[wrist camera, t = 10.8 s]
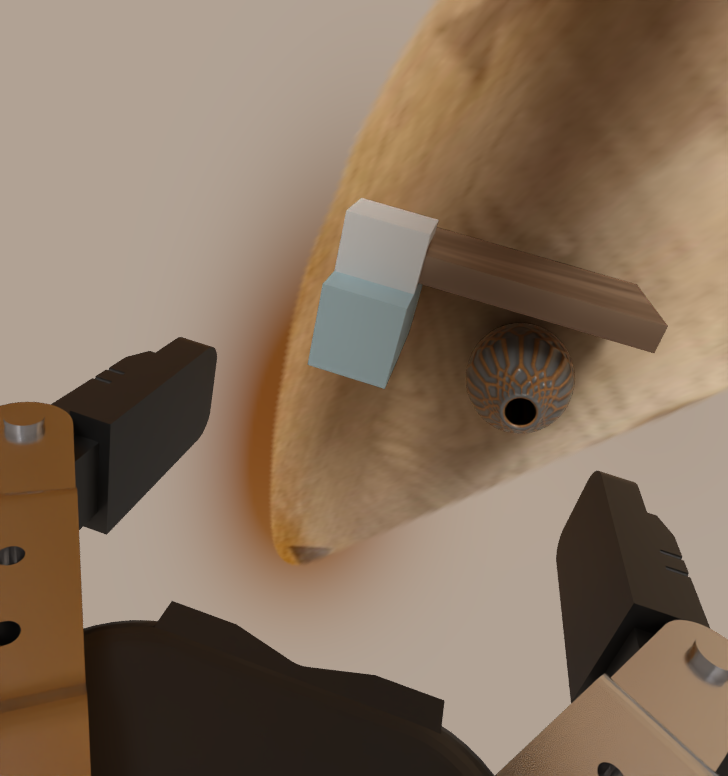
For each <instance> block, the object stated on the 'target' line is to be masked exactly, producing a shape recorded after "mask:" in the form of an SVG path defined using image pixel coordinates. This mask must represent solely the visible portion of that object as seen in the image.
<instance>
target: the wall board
mask: <svg viewBox="0 0 728 776" xmlns="http://www.w3.org/2000/svg"><path fill="white" fill-rule="evenodd" d="M418 283H419V284H422V285H425V286H429V287H432V288H435V289H439V290H442V291H446V292H449V293H452V294H456V295H459V296H462V297H466V298H469V299H473V300H476V301H479V302H483V303H486V304H489V305H493V306H496V307H500V308H503V309H506V310H510V311H513V312H516V313H520V314H523V315H527V316H530V317H533V318H537V319H540V320H543V321H547V322H550V323H554V324H557V325H560V326H564V327H567V328H570V329H574V330H577V331H581V332H584V333H587V334H591V335H594V336H597V337H601V338H604V339H608V340H611V341H614V342H618V343H621V344H624V345H628V346H631V347H635V348H638V349H641V350H645V351H648V352H651V353H655V351H656V349H657V347H658V345H659V343H660V341H661V339H662V337H663V335H664V333H665V331H666V329H667V327H668V326H667V324H666V323H665V322H664V320H663V319H662V317H661V316H660V315H659V313H658V312H657V311H656V309H655V308H654V307H653V305H652V304H651V303H650V301H649V300H648V299H647V297H646V296H645V295H644V293H643V292H642V291H641V289H640V288H639V287H638V285H637V284H633V283H630V282H626V281H623V280H619V279H616V278H612V277H609V276H605V275H602V274H598V273H595V272H591V271H588V270H584V269H581V268H577V267H574V266H570V265H567V264H563V263H560V262H556V261H553V260H549V259H546V258H542V257H539V256H535V255H532V254H528V253H525V252H521V251H518V250H514V249H511V248H507V247H504V246H500V245H497V244H493V243H490V242H486V241H483V240H479V239H476V238H472V237H469V236H465V235H462V234H458V233H455V232H451V231H448V230H444V229H441V228H437V227H436V231H435V234H434V236H433V238H432V240H431V242H430V244H429V246H428V249H427V253H426V256H425V260H424V263H423V267H422V271H421V274H420V278H419V281H418Z"/></svg>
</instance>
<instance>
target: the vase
mask: <svg viewBox="0 0 728 776" xmlns="http://www.w3.org/2000/svg"><path fill="white" fill-rule="evenodd" d="M574 383H575V374H574V368H573V363H572V360H571V358H570V355H569V353H568V351H567V349H566V348H565V346H564V345H563V343H562V342H561V341H560V340H559V339H558V338H557V337H556V336H554V335H553V334H552V333H551V332H549V331H547V330H546V329H544V328H541V327H539V326H536V325H532V324H526V323H515V324H509V325H505V326H502V327H499V328H497V329H495V330H493V331H492V332H490V333H489V334H487V335H486V336H485V337H484V338H483V339H482V340H481V341H480V342H479V343H478V344H477V346H476V347H475V349H474V350H473V352H472V354H471V357H470V359H469V362H468V366H467V371H466V386H467V391H468V395H469V398H470V400H471V402H472V404H473V406H474V408H475V409H476V411H477V412H478V413H479V415H480V416H481V417H482V418H483V419H484V420H485V421H486V422H488V423H489V424H491V425H492V426H494V427H496V428H498V429H500V430H503V431H506V432H510V433H531V432H535V431H538V430H541V429H543V428H545V427H547V426H548V425H550V424H551V423H553V422H554V421H555V420H556V419H558V418H559V416H560V415H561V414H562V413H563V412H564V410H565V409H566V407H567V405H568V404H569V402H570V399H571V396H572V394H573V390H574Z"/></svg>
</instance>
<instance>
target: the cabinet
mask: <svg viewBox="0 0 728 776" xmlns="http://www.w3.org/2000/svg"><path fill="white" fill-rule="evenodd" d="M437 224H438V220H437V219H434V218H430V217H427V216H423V215H420V214H416V213H413V212H409V211H406V210H402V209H399V208H395V207H392V206H388V205H385V204H381V203H378V202H374V201H371V200H367V199H364V198H361V199H360V200H358V201H357V202H356V203H355V204H354V205H352V206H351V207H350V208H349V209H348V210H347V211H346V215H345V220H344V225H343V231H342V236H341V241H340V246H339V251H338V256H337V261H336V266H335V271H334V272H333V273H332V274H331V275H330V276H329V278H328V279H327V280H326V281H325V282H324V283H323V286H322V291H321V296H320V302H319V307H318V312H317V318H316V323H315V328H314V334H313V339H312V344H311V350H310V355H309V360H308V365H310V366H313V367H317V368H320V369H323V370H326V371H329V372H333V373H336V374H339V375H342V376H345V377H348V378H352V379H355V380H358V381H361V382H364V383H367V384H371V385H374V386H377V387H380V388H383V389H385V387H386V385H387V383H388V380H389V378H390V376H391V373H392V371H393V369H394V366H395V364H396V362H397V359H398V357H399V355H400V352H401V350H402V348H403V345H404V343H405V341H406V339H407V336H408V334H409V331H410V328H411V324H412V320H413V317H414V313H415V310H416V306H417V303H418V299H419V296H420V292H421V289H422V284H419V283H418V281H419V278H420V274H421V271H422V267H423V263H424V260H425V256H426V253H427V249H428V246H429V244H430V242H431V240H432V238H433V236H434V234H435V231H436V227H437Z"/></svg>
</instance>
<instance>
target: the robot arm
mask: <svg viewBox="0 0 728 776" xmlns="http://www.w3.org/2000/svg"><path fill="white" fill-rule="evenodd" d="M216 362H217V353H216V350H215V348H214V347H211V346H208V345H204V344H201V343H198V342H195V341H192V340H188V339H186V338H182V337H179V338H177V339H175V340H174V341H172V342H171V343H170V344H168V345H166V346H165V347H163V348H162V349H160V350H159V351H157V352H156V353H154V352H151V351H148V352H144V353H140V354H136V355H132V356H128V357H126V358H124V359H122V360H121V361H119V362H117V363H116V364H114V365H113V366H111V367H110V368H109V370H105V371H103V372H102V373H100V374H98V375H97V376H96V378H95V379H91V380H89V381H87V382H86V383H84V384H83V385H81V386H79V387H78V388H76V389H75V390H73V391H72V392H70V393H68V394H67V395H65V396H64V397H62V398H60V399H59V400H57V401H56V402H54V403H52V404H51V405H50V404H45V403H39V402H17V403H10V404H6V405H1V406H0V776H494V774H493V773H492V772H491V771H490V770H489V768H488V767H487V766H486V765H485V764H484V762H483V761H482V760H481V759H480V758H479V757H478V756H477V755H476V754H475V753H474V752H473V751H472V750H471V749H470V748H469V747H468V746H467V745H466V744H465V743H464V742H462V741H461V740H460V739H459V738H457V737H456V736H455V735H454V734H453V733H451V732H450V731H448V730H447V729H445V728H444V727H442V717H443V708H444V700H441V699H438V698H436V697H433V696H430V695H428V694H425V693H422V692H419V691H417V690H414V689H411V688H409V687H406V686H403V685H400V684H398V683H395V682H392V681H389V680H387V679H384V678H381V677H378V676H376V675H369V674H360V673H352V672H344V671H336V670H327V669H319V668H311V667H304V666H300V665H298V664H296V663H294V662H292V661H290V660H289V659H287V658H286V657H284V656H283V655H281V654H280V653H278V652H277V651H275V650H274V649H272V648H271V647H269V646H268V645H266V644H265V643H263V642H262V641H260V640H259V639H257V638H256V637H254V636H253V635H251V634H250V633H248V632H247V631H245V630H244V629H242V628H241V627H239V626H238V625H236V624H233V623H231V622H228V621H225V620H223V619H220V618H217V617H214V616H212V615H209V614H206V613H203V612H201V611H198V610H195V609H193V608H190V607H187V606H184V605H182V604H179V603H176V602H173V601H172V602H171V603H170V605H169V606H168V608H167V609H166V610H165V612H164V613H163V615H162V616H161V618H160V619H159V620H158V621H143V620H140V621H139V620H132V621H131V620H130V621H119V622H111V623H106V624H100V625H95V626H91V627H88V628H84V629H83V612H82V589H81V567H80V566H81V565H80V543H79V530H80V529H81V528H82V527H83V526H84V527H87V528H90V529H93V530H96V531H98V532H101V533H104V534H108V533H109V532H110V530H111V529H112V528H113V527H114V526H115V525H116V524H117V523H118V522H119V521H120V520H121V519H122V518H123V517H124V516H125V515H126V514H127V513H128V512H129V511H130V510H131V509H132V508H133V507H134V506H135V504H136V503H137V502H138V501H139V500H140V499H141V498H142V497H143V496H144V495H145V494H146V493H147V492H148V491H149V490H150V489H151V488H152V487H153V486H154V485H155V484H156V483H157V482H158V480H160V479H161V477H162V476H163V475H164V474H165V473H166V472H167V471H168V470H169V469H170V468H171V467H172V466H173V465H174V464H175V463H176V462H177V461H178V460H179V459H180V458H181V456H182V455H184V454H185V452H186V451H187V450H188V449H189V448H190V447H191V446H192V445H193V444H194V443H195V442H196V441H197V440H198V439H199V438H200V436H201V435H202V433H203V431H204V429H205V427H206V424H207V421H208V419H209V415H210V408H211V400H212V393H213V385H214V377H215V369H216ZM681 559H682V555H681V552H680V550H679V547H678V545H677V542H676V540H675V537H674V536H673V534H672V533H671V532H670V531H669V530H668V528H667V527H666V526H665V525H664V524H663V522H662V521H661V520H660V519H659V518H658V517H657V516H656V515H653V514H650V513H647V511H646V508H645V505H644V503H643V499H642V496H641V494H640V491H639V488H638V485H637V484H636V483H634V482H631V481H628V480H625V479H622V478H619V477H616V476H613V475H609V474H607V473H603V472H600V471H595V472H594V473H593V474H592V475H591V476H590V478H589V480H588V481H587V483H586V486H585V487H584V490H583V491H582V493H581V495H580V497H579V499H578V501H577V503H576V505H575V507H574V509H573V511H572V513H571V515H570V517H569V519H568V521H567V523H566V525H565V527H564V529H563V531H562V534H561V536H560V540H559V543H558V547H557V555H556V562H557V571H558V582H559V591H560V601H561V610H562V620H563V629H564V639H565V649H566V659H567V668H568V677H569V687H570V696H571V704H570V705H569V706H568V707H567V708H566V709H565V710H564V711H563V712H562V713H561V714H560V715H559V716H558V717H557V718H556V719H554V721H552V722H551V723H550V724H549V725H548V726H547V727H546V728H545V729H544V730H543V731H542V732H541V733H540V734H539V735H538V736H537V737H535V738H534V739H533V740H532V741H531V742H530V743H529V744H528V745H527V746H526V747H525V748H524V749H523V750H522V751H521V752H520V753H518V754H517V755H516V756H515V757H514V758H513V759H512V760H511V761H510V762H509V763H508V764H507V765H506V766H505V767H504V768H503V769H502V770H500V771H499V772H498V773H497V774H496V775H495V776H728V640H727V639H726V638H725V637H723V636H722V635H720V634H719V633H717V632H715V631H713V630H712V629H710V627H709V624H708V622H707V619H706V616H705V614H704V611H703V609H702V606H701V604H700V601H699V598H698V596H697V593H696V591H695V588H694V586H693V583H692V581H691V578H690V577H688V570H687V568H686V565H685V563H684V561H683V560H681Z"/></svg>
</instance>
